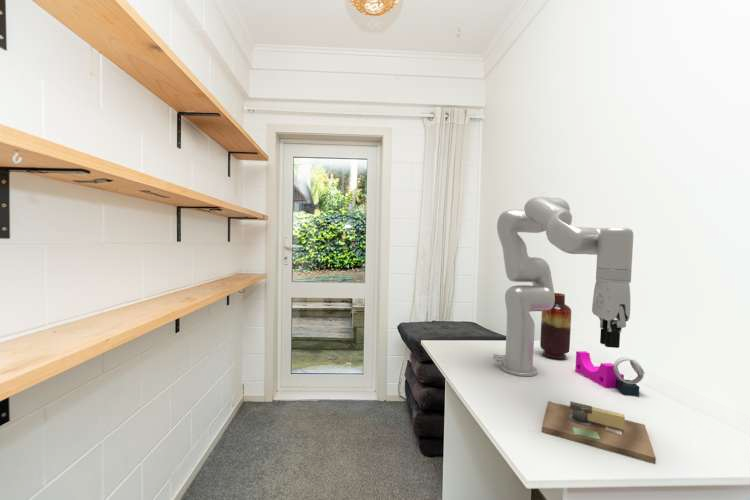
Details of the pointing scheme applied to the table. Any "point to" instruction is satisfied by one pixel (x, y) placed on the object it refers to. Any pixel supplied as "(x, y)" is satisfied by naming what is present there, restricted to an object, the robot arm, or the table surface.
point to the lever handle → (596, 415)
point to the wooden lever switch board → (599, 433)
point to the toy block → (596, 370)
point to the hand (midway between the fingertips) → (609, 345)
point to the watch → (628, 385)
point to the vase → (556, 329)
